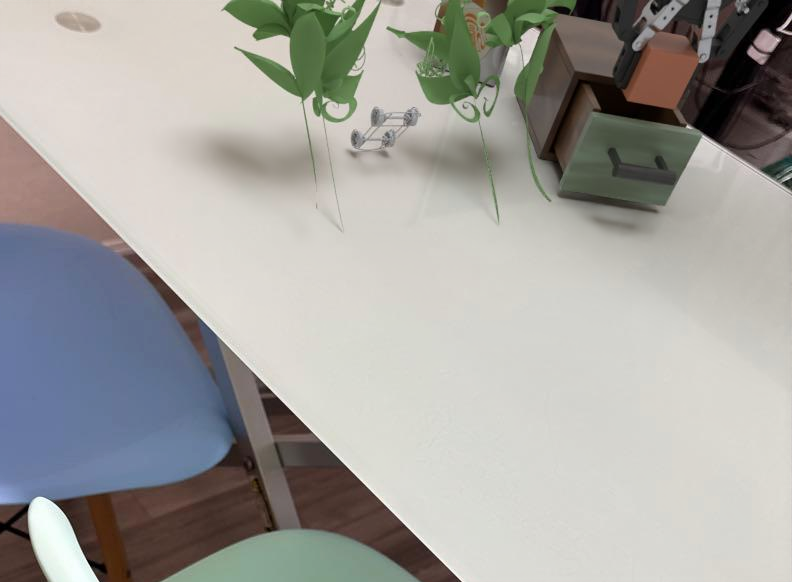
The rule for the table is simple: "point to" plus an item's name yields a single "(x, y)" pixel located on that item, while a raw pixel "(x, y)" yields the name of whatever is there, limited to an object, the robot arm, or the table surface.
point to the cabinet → (570, 74)
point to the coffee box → (479, 35)
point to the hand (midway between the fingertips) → (646, 89)
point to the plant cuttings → (341, 46)
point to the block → (662, 71)
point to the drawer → (621, 146)
